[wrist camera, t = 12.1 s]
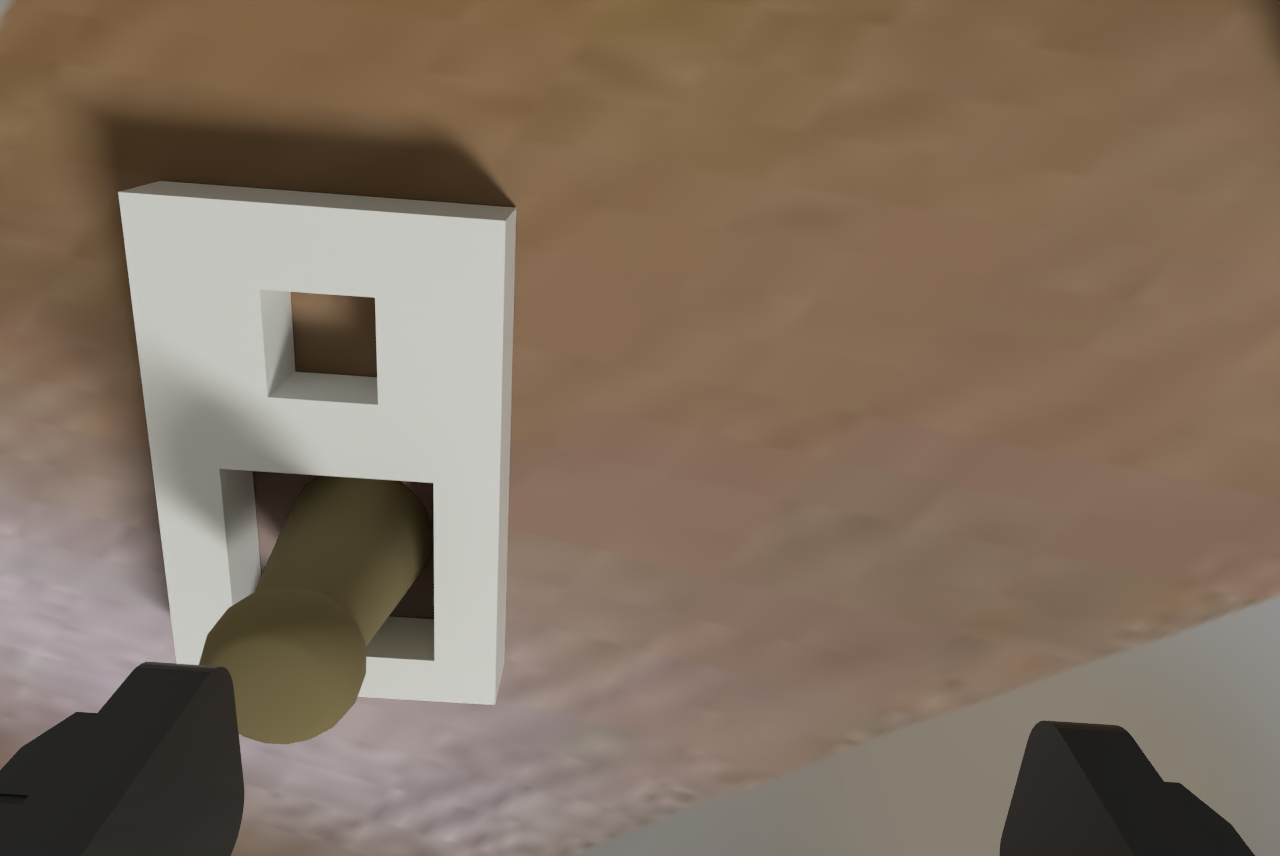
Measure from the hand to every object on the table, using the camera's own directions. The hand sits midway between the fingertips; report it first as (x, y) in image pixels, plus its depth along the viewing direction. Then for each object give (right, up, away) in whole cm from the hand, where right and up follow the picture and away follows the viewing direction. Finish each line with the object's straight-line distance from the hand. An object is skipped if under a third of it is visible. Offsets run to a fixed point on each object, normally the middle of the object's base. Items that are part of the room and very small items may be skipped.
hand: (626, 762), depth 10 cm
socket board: (-12, +3, +29) cm, 31 cm away
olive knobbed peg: (-12, -1, +31) cm, 33 cm away
